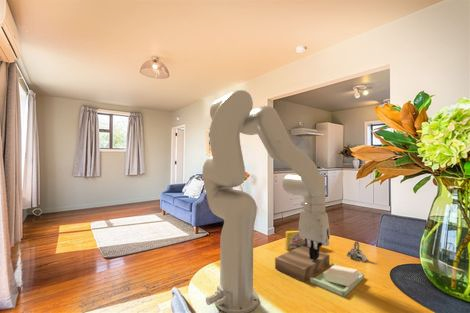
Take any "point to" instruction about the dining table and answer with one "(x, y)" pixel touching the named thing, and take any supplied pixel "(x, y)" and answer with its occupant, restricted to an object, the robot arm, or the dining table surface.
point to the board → (301, 263)
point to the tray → (335, 284)
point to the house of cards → (357, 253)
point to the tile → (341, 275)
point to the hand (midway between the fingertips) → (314, 258)
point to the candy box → (294, 240)
